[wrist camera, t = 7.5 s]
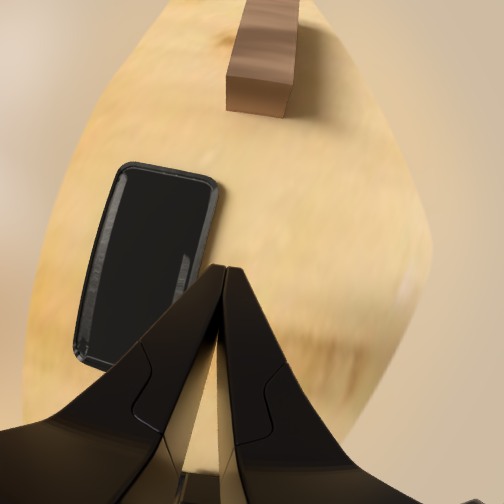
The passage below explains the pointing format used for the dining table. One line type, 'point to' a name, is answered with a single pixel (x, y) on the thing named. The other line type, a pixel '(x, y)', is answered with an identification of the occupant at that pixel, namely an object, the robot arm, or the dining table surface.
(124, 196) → the phone
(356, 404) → the dining table surface
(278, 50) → the walnut block
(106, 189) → the dining table surface
